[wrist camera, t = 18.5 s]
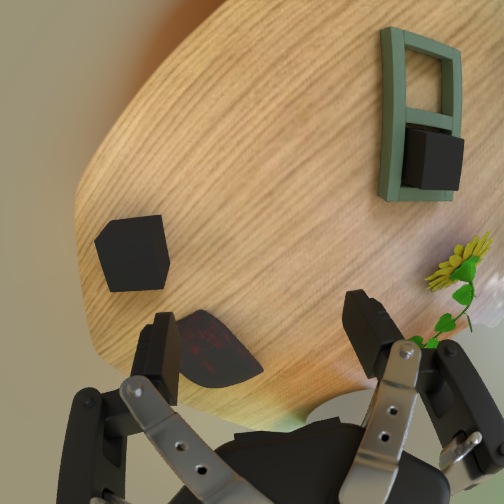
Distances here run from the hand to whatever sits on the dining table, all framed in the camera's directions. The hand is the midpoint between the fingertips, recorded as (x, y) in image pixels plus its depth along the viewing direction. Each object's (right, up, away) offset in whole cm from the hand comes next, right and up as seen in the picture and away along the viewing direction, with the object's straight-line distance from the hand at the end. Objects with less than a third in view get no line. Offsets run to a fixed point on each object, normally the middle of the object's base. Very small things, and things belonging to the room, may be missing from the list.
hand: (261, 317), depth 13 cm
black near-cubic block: (+17, +13, +13) cm, 25 cm away
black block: (-11, +4, +15) cm, 19 cm away
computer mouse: (-5, -10, +23) cm, 25 cm away
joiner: (+17, +17, +11) cm, 26 cm away
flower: (+26, -5, +24) cm, 36 cm away
